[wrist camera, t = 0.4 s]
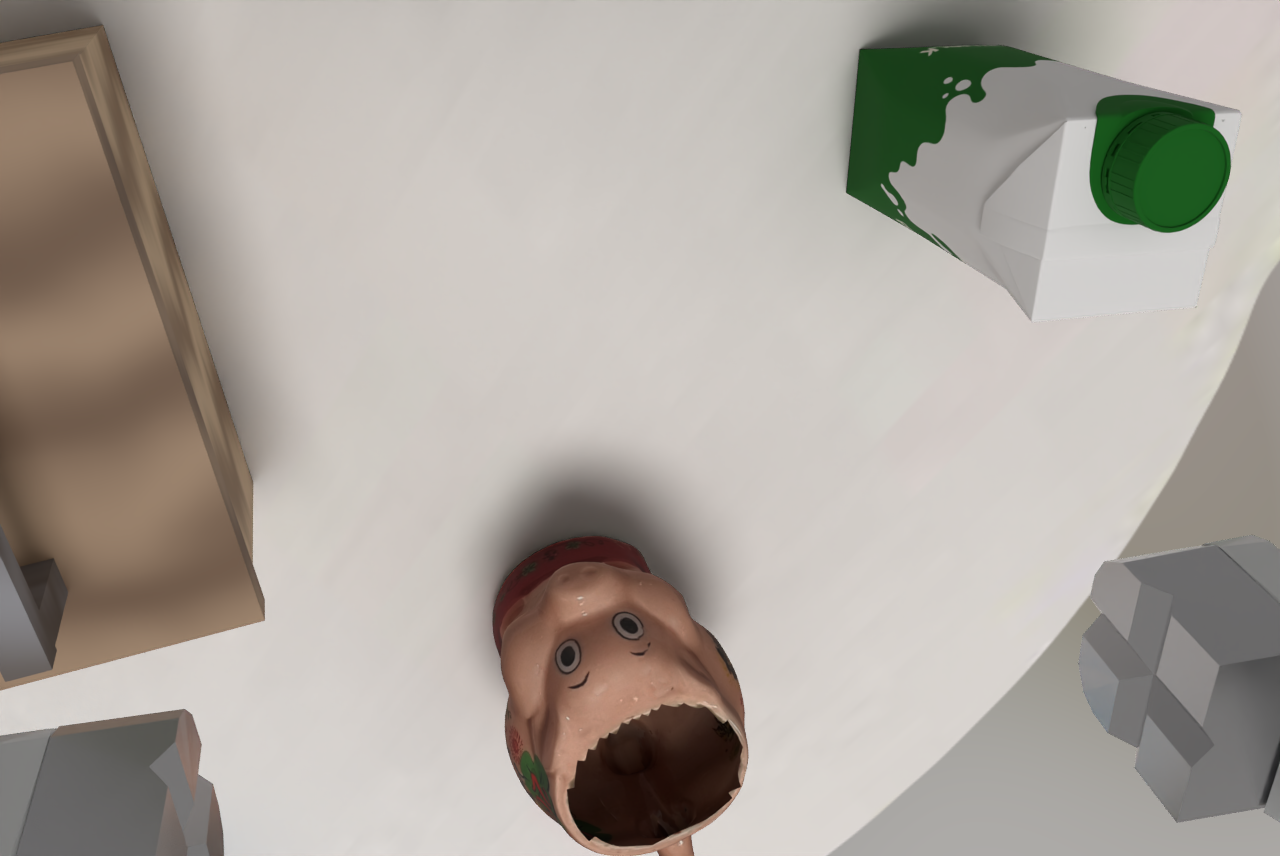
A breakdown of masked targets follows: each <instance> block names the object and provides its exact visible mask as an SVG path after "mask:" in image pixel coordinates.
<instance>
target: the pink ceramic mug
mask: <svg viewBox="0 0 1280 856" xmlns="http://www.w3.org/2000/svg"><path fill="white" fill-rule="evenodd" d="M493 634H494V639H495V644H496V647H497V650H498V652H499V655H500V658H501V670H502V675H503V679H504V682H505V684H506V687H507V689H508V692H509V698H508V703H507V709H506V714H505V736H506V744H507V749H508V753H509V756H510V759H511V762H512V765H513V767H514V770H515V772H516V774H517V776H518V778H519V780H520V782H521V784H522V785H523V787H524V789H525V790H526V792H527V793H528V794H529V795H530V797H531V798H532V799H533V800H534V802H535V803H536V804H537V805H538V806H539V807H540V808H541V809H542V810H543V811H544V812H545V813H546V814H547V815H548V816H549V817H551V818H552V819H553V820H554V821H556V822H557V823H559V824H560V825H561V826H562V827H563V828H564V830H565V831H566V832H567V834H568V835H569V836H570V837H571V838H573V839H574V840H575V841H576V842H577V843H579V844H580V845H582V846H583V847H585V848H587V849H589V850H591V851H594V852H596V853H600V854H604V855H611V856H634V855H641V854H646V853H651V852H654V851H657V852H658V854H659V856H694V852H693V847H692V840H691V835H692V834H694V833H696V832H697V831H699V830H701V829H703V828H704V827H706V826H707V825H709V824H711V823H712V822H713V821H714V820H716V819H717V818H718V817H719V816H720V815H721V814H722V813H723V812H724V811H725V810H726V809H727V808H728V807H729V805H730V804H731V803H732V802H733V800H734V799H735V797H736V796H737V794H738V793H739V791H740V789H741V787H742V784H743V781H744V776H745V772H746V768H747V764H748V745H747V739H746V733H745V729H744V715H745V712H744V704H743V698H742V693H741V689H740V685H739V682H738V678H737V676H736V673H735V670H734V668H733V666H732V664H731V662H730V660H729V658H728V657H727V655H726V653H725V651H724V650H723V648H722V647H721V645H720V644H719V642H718V641H717V639H716V638H715V637H714V636H713V635H712V634H711V633H710V632H709V631H708V630H707V629H705V628H704V627H703V626H701V625H700V624H698V623H697V622H696V621H694V620H693V619H692V618H691V616H690V614H689V612H688V609H687V606H686V603H685V601H684V599H683V596H682V595H681V594H680V593H679V592H678V591H677V590H676V589H675V588H674V587H673V586H671V585H670V584H669V583H667V582H666V581H664V580H662V579H661V578H659V577H657V576H654V575H652V574H651V572H650V570H649V568H648V566H647V564H646V562H645V560H644V557H643V556H642V554H641V553H640V552H639V551H638V550H637V549H636V548H635V547H633V546H632V545H629V544H627V543H624V542H621V541H618V540H615V539H612V538H608V537H602V536H586V537H578V538H572V539H568V540H564V541H561V542H558V543H555V544H552V545H550V546H548V547H546V548H544V549H542V550H540V551H538V552H536V553H534V554H533V555H531V556H530V557H528V558H527V559H526V560H524V561H523V562H522V563H520V564H519V565H518V566H517V567H516V568H515V569H514V570H513V571H512V572H511V574H510V575H509V576H508V577H507V579H506V580H505V582H504V584H503V585H502V587H501V590H500V592H499V594H498V597H497V600H496V603H495V606H494V610H493Z"/></svg>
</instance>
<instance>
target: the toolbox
mask: <svg viewBox="0 0 1280 856" xmlns="http://www.w3.org/2000/svg"><path fill="white" fill-rule="evenodd" d="M261 621H265V599H264V596H263V593H262V590H261V587H260V584H259V582H258V579H257V576H256V573H255V570H254V567H253V482H252V479H251V476H250V472H249V469H248V466H247V463H246V460H245V457H244V454H243V451H242V448H241V445H240V442H239V439H238V436H237V433H236V430H235V427H234V424H233V421H232V418H231V414H230V411H229V408H228V405H227V402H226V399H225V396H224V393H223V390H222V387H221V384H220V381H219V378H218V375H217V372H216V369H215V366H214V363H213V360H212V356H211V353H210V350H209V347H208V344H207V341H206V338H205V335H204V332H203V329H202V326H201V323H200V320H199V317H198V314H197V311H196V308H195V305H194V301H193V298H192V295H191V292H190V289H189V286H188V283H187V280H186V277H185V274H184V271H183V268H182V265H181V262H180V259H179V256H178V253H177V250H176V247H175V243H174V240H173V237H172V234H171V231H170V228H169V225H168V222H167V219H166V216H165V213H164V210H163V207H162V204H161V201H160V198H159V195H158V192H157V189H156V185H155V182H154V179H153V176H152V173H151V170H150V167H149V164H148V161H147V158H146V155H145V152H144V149H143V146H142V143H141V140H140V137H139V134H138V130H137V127H136V124H135V121H134V118H133V115H132V112H131V109H130V106H129V103H128V100H127V97H126V94H125V91H124V88H123V85H122V82H121V79H120V76H119V72H118V69H117V66H116V63H115V60H114V57H113V54H112V51H111V48H110V45H109V42H108V39H107V36H106V33H105V30H104V27H103V25H101V26H95V27H89V28H83V29H78V30H72V31H66V32H60V33H54V34H49V35H43V36H37V37H31V38H26V39H20V40H14V41H8V42H3V43H0V690H4V689H8V688H11V687H15V686H19V685H23V684H26V683H30V682H34V681H38V680H42V679H45V678H49V677H53V676H57V675H60V674H64V673H68V672H72V671H76V670H79V669H83V668H87V667H91V666H94V665H98V664H102V663H106V662H110V661H113V660H117V659H121V658H125V657H129V656H132V655H136V654H140V653H144V652H147V651H151V650H155V649H159V648H163V647H166V646H170V645H174V644H178V643H181V642H185V641H189V640H193V639H197V638H200V637H204V636H208V635H212V634H215V633H219V632H223V631H227V630H231V629H234V628H238V627H242V626H246V625H249V624H253V623H257V622H261Z"/></svg>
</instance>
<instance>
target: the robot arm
mask: <svg viewBox="0 0 1280 856" xmlns="http://www.w3.org/2000/svg"><path fill="white" fill-rule="evenodd" d="M1090 598H1091V599H1092V601H1093V602H1094V604H1095V605H1096V606H1097V608H1098V609H1099V611H1100V612H1101V615H1100V616H1099V617H1098V618H1097V619H1096V620H1095V621H1094V623H1093V624H1092V625H1091V626H1090V627H1089V628H1088V630H1087V631H1086V632H1085V633H1084V634H1083V636H1082V642H1081V649H1080V657H1079V663H1078V664H1079V670H1080V676H1081V681H1082V686H1083V691H1084V694H1085V696H1086V699H1087V701H1088V703H1089V705H1090V707H1091V710H1092V712H1093V714H1094V715H1095V716H1096V718H1097V719H1098V720H1099V722H1100V723H1101V724H1102V726H1103V727H1104V729H1105V730H1106V731H1107V733H1109V734H1111V735H1113V736H1115V737H1117V738H1119V739H1121V740H1123V741H1125V742H1127V743H1129V744H1131V745H1133V746H1134V747H1136V748H1137V749H1136V760H1135V769H1136V770H1137V772H1138V773H1139V774H1140V776H1141V777H1142V778H1143V780H1144V781H1145V782H1146V783H1147V785H1148V786H1149V787H1150V789H1151V790H1152V791H1153V793H1154V794H1155V795H1156V796H1157V798H1158V799H1159V800H1160V801H1161V803H1162V804H1163V805H1164V807H1165V808H1166V809H1167V810H1168V812H1169V813H1170V814H1171V816H1172V817H1173V818H1174V820H1175V821H1176V822H1184V821H1189V820H1195V819H1201V818H1207V817H1213V816H1219V815H1225V814H1230V813H1236V812H1242V811H1248V810H1254V809H1260V808H1265V810H1264V813H1266V814H1267V815H1269V816H1270V817H1272V818H1274V819H1275V820H1277V821H1278V822H1280V549H1278V548H1277V547H1276V546H1275V545H1274V544H1273V543H1271V542H1270V541H1268V540H1266V539H1263V538H1260V537H1258V536H1255V535H1249V536H1243V537H1238V538H1232V539H1227V540H1221V541H1216V542H1211V543H1205V544H1203V545H1202V546H1195V547H1188V548H1183V549H1177V550H1170V551H1164V552H1159V553H1152V554H1147V555H1141V556H1135V557H1129V558H1123V559H1117V560H1111V561H1105V562H1104V563H1103V564H1102V565H1101V567H1100V568H1099V570H1098V571H1097V573H1096V574H1095V577H1094V581H1093V586H1092V591H1091V595H1090ZM201 745H202V744H201V741H200V738H199V735H198V732H197V729H196V726H195V722H194V719H193V716H192V714H191V713H189V712H188V711H187V710H185V709H181V710H174V711H167V712H160V713H152V714H145V715H138V716H131V717H124V718H116V719H109V720H102V721H95V722H87V723H80V724H73V725H66V726H59V727H58V729H44V730H37V731H30V732H23V733H16V734H9V735H2V736H0V856H224V845H223V829H222V823H221V817H220V811H219V805H218V801H217V798H216V794H215V790H214V786H213V784H212V783H211V782H209V781H208V780H206V779H205V778H203V777H202V776H200V775H199V774H198V769H199V761H200V753H201Z"/></svg>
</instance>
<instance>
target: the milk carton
mask: <svg viewBox="0 0 1280 856" xmlns="http://www.w3.org/2000/svg"><path fill="white" fill-rule="evenodd" d="M1241 117H1242V114H1241V112H1240V111H1239V110H1237V109H1232V108H1228V107H1224V106H1220V105H1216V104H1212V103H1208V102H1204V101H1200V100H1196V99H1192V98H1189V97H1185V96H1181V95H1177V94H1173V93H1169V92H1165V91H1161V90H1157V89H1153V88H1149V87H1145V86H1141V85H1137V84H1134V83H1130V82H1126V81H1123V80H1119V79H1116V78H1113V77H1109V76H1106V75H1102V74H1099V73H1096V72H1092V71H1089V70H1086V69H1082V68H1079V67H1076V66H1072V65H1069V64H1066V63H1062V62H1059V61H1055V60H1052V59H1049V58H1045V57H1042V56H1039V55H1035V54H1032V53H1029V52H1025V51H1022V50H1018V49H1015V48H1011V47H1008V46H1002V45H961V46H937V47H913V48H887V49H861V50H860V53H859V64H858V75H857V85H856V96H855V107H854V117H853V128H852V139H851V149H850V160H849V170H848V181H847V191H846V193H847V194H849V195H851V196H853V197H855V198H856V199H858V200H860V201H862V202H863V203H865V204H867V205H869V206H870V207H872V208H874V209H876V210H877V211H879V212H881V213H883V214H884V215H886V216H888V217H890V218H891V219H893V220H895V221H897V222H898V223H900V224H902V225H903V226H905V227H907V228H909V229H910V230H912V231H914V232H916V233H917V234H919V235H921V236H922V237H924V238H926V239H927V240H929V241H930V242H932V243H934V244H935V245H937V246H938V247H940V248H942V249H943V250H945V251H946V252H948V253H950V254H951V255H953V256H954V257H956V258H958V259H959V260H961V261H962V262H964V263H965V264H967V265H969V266H970V267H972V268H973V269H975V270H977V271H978V272H980V273H981V274H983V275H985V276H986V277H988V278H989V279H991V280H993V281H994V282H996V283H997V284H999V285H1000V286H1002V287H1004V288H1005V289H1006V290H1007V291H1008V292H1009V294H1010V295H1011V296H1012V297H1013V299H1014V300H1015V301H1016V303H1017V304H1018V305H1019V306H1020V308H1021V309H1022V310H1023V312H1024V313H1025V314H1026V315H1027V317H1028V318H1029V319H1030V321H1031V322H1044V321H1054V320H1065V319H1076V318H1087V317H1098V316H1109V315H1119V314H1130V313H1141V312H1152V311H1163V310H1173V309H1184V308H1194V307H1196V305H1197V301H1198V297H1199V293H1200V288H1201V284H1202V280H1203V275H1204V271H1205V267H1206V262H1207V258H1208V254H1209V249H1210V248H1212V247H1214V245H1215V242H1216V238H1217V234H1218V229H1219V224H1220V213H1221V208H1222V204H1223V199H1224V195H1225V190H1226V186H1227V182H1228V179H1229V175H1230V169H1231V163H1232V159H1233V154H1234V149H1235V145H1236V140H1237V136H1238V131H1239V127H1240V122H1241Z"/></svg>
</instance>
